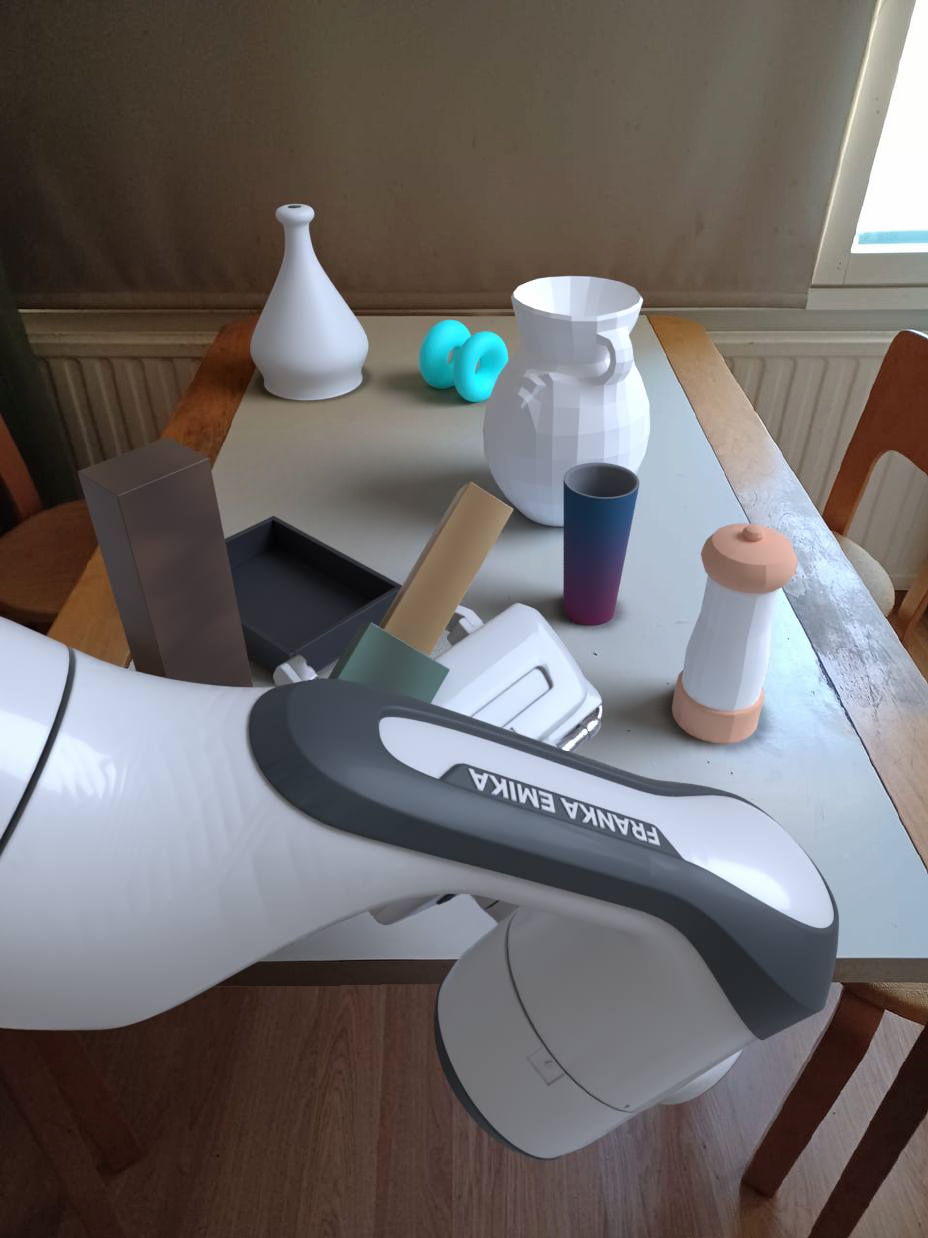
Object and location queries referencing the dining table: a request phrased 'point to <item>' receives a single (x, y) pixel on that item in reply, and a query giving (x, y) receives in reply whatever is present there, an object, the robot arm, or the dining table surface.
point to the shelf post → (168, 563)
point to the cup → (596, 538)
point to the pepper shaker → (732, 633)
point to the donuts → (462, 359)
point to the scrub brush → (426, 601)
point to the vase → (306, 324)
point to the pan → (301, 594)
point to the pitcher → (566, 391)
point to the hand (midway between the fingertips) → (350, 625)
